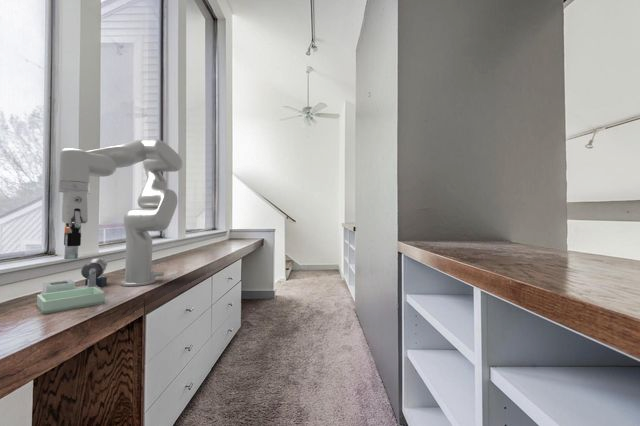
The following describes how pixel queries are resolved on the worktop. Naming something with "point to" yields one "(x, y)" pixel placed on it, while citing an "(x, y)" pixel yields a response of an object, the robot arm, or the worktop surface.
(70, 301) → the tray
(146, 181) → the robot arm
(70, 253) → the lock pin
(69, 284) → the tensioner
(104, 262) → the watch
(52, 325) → the worktop surface
